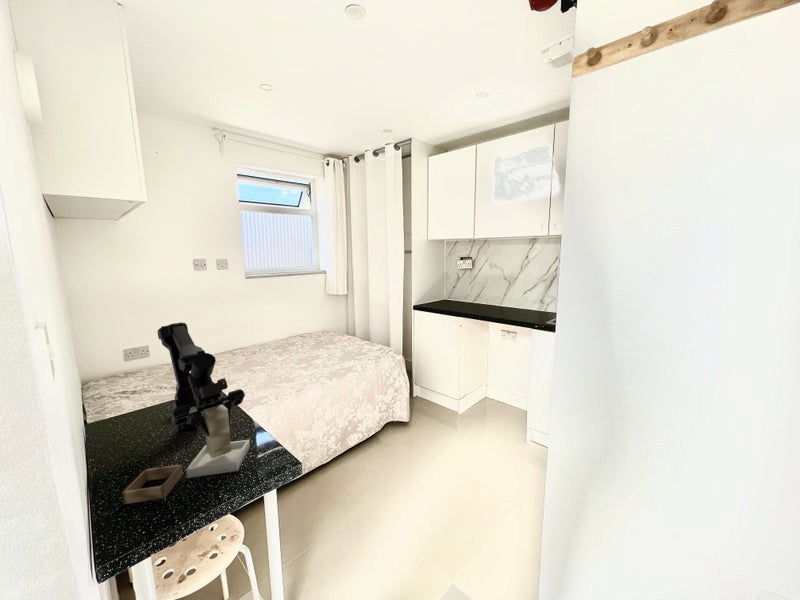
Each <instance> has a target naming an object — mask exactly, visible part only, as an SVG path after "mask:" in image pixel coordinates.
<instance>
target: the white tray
mask: <svg viewBox="0 0 800 600" xmlns="http://www.w3.org/2000/svg"><path fill="white" fill-rule="evenodd" d="M230 443H231V452H228V453H226V454H223V455H221V456H218V457H216V458H213V459H212V458H211V457H210V455H209V454H208V453H207V446H206V444H205V445H204V446H203V447H202V449H201V450H200V451H198V454H197V455H196V456H195V457H194V458H193V460H192V462H191V463H190V464H189V465H188V467H187V468H186V469H185V471H186V478H187V479H191V478H198V477H203V476H211V475H217V474H218V475H219V474H224V473H231V472H232V473H233V472H238V471H239V469H240V467H241V466H242V464H243V462H244V459H245V458H246V456H247V454H248V452H249V450H250V448H251V442H250V439H244V440H243V439H242V440H238V441H237V440H235V441H230Z"/></svg>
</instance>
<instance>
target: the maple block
mask: <svg viewBox="0 0 800 600" xmlns="http://www.w3.org/2000/svg"><path fill="white" fill-rule="evenodd" d="M203 411H204V416H203V420H204V422H205V424H206V426H207V428H208V431H209V436H208V437H207V436H206V435H205V443H206V444H205V445H206V446H207V453H208V454H209V455H210V457H211V458H212V459H213V458H216V457H218V456H221V455H223V454H226V453H228V452H231V443H230V442H231V433H230V431H231V430H230V428H229V417H228V409H227V408H226V407H225V406H224V405H218V406H215V407H212V408H208V409H205V410H203Z"/></svg>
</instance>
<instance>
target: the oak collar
mask: <svg viewBox="0 0 800 600" xmlns="http://www.w3.org/2000/svg"><path fill="white" fill-rule="evenodd" d="M183 472H184V471H183V464H174V465H168V466H161V467H160V466H159V467H155V468H154V467H153V468H148V469H146V468H145V469H144V470H143V471H142V472H141V473H140V474H139V475H138V476H136V478H135V479H134V480H133V481H131V483H130V484H129V485H128V486H127V487H126V488H125V489H124V490H123V491H122V492H121V496H122V497H121V498H122V504H123V505H127V504H133V503H134V504H135V503H141V502H147V501H153V500H160V499H165V498H166V497H167V496H168V495H169V493H170V492H171V491H172V489H173V488H174V487H175V485H176V484H177V483H178V482H179V481H180V479H181V478H182V476H183V474H184V473H183ZM163 479H166V480H165V481H164V483H163V484H162V485H157V486H150V487H144V488H142V487H143V486H144V485H145V484H146V483H147V482H148V481H156V480H163Z"/></svg>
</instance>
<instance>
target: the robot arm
mask: <svg viewBox="0 0 800 600" xmlns="http://www.w3.org/2000/svg"><path fill="white" fill-rule="evenodd" d="M157 338H158V340H160V341H161V344H162V346H163V347H165V348H166V349H167V350H168V351H169V356H170V359H171V364H172V365H171V366H172V368H173V373H174V377H175V381H176V385H177V386H178V390H177V392H175V395H174V401H173V402H172V404H173V405H172V412H171V417H170V419H171V423H172V427H177V429H178V430H177V431H176V433H177V434H181V433H182V434H183V433H189V432H196V431H198V430H199V431H201V432H202V434H204V435H205V437H206V436H207V437H208V436H209V431H208V428H207V426H206V424H205V422H204V417H203V416H202V414H201V412H203V410H205V409H208V408H212V407H215V406H218V405H224V406H225V407H226V408H227V409H228V417H229V429H230V427H231V411H232V409H233V407H236V406H239V405H240V404H242V403H243V401H244V398H245V396H246V394H245V391H244V390H243V389H241V388H239V389H235V390H233V391H230V392H228V393H227V395H226V397H223V398H221V396H222V395H221V394H222V393H223V390H226V389H228V383H227V380H226V378H225V377H223V378H220V379H219V378H218V380H217V381H216V382H214V380H213V379H212V376H211V375H213V373H214V368H215V365H216V361H217V360H216V357H215V356H214V355H213V354H211V353H208V352H206V351H205V350H204V349H203V348H202V347H200V346H197V345H196V344H195V342H194V341H193V339H192V337H191V334H190V333H189V329H188V324H187V323H186V322H176V323H175V322H174V323H170V324H168V325H164V326H163V325H162V326H161V327H160V328H158V329H157Z"/></svg>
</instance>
